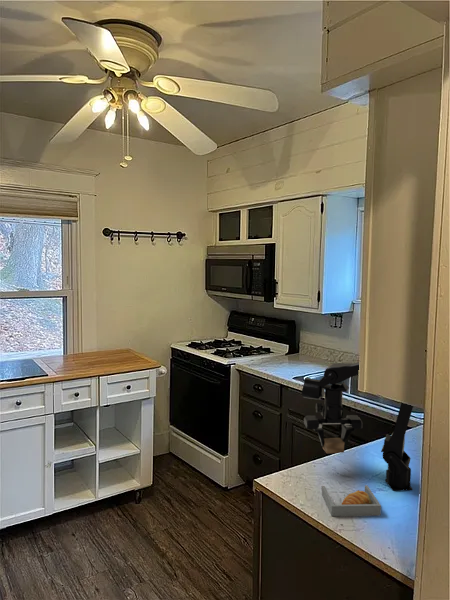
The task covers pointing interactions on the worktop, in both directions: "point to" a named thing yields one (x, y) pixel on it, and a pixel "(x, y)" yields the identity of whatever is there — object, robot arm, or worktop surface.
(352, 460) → the worktop surface
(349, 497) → the pastry
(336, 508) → the bay
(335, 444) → the cardboard brown box
